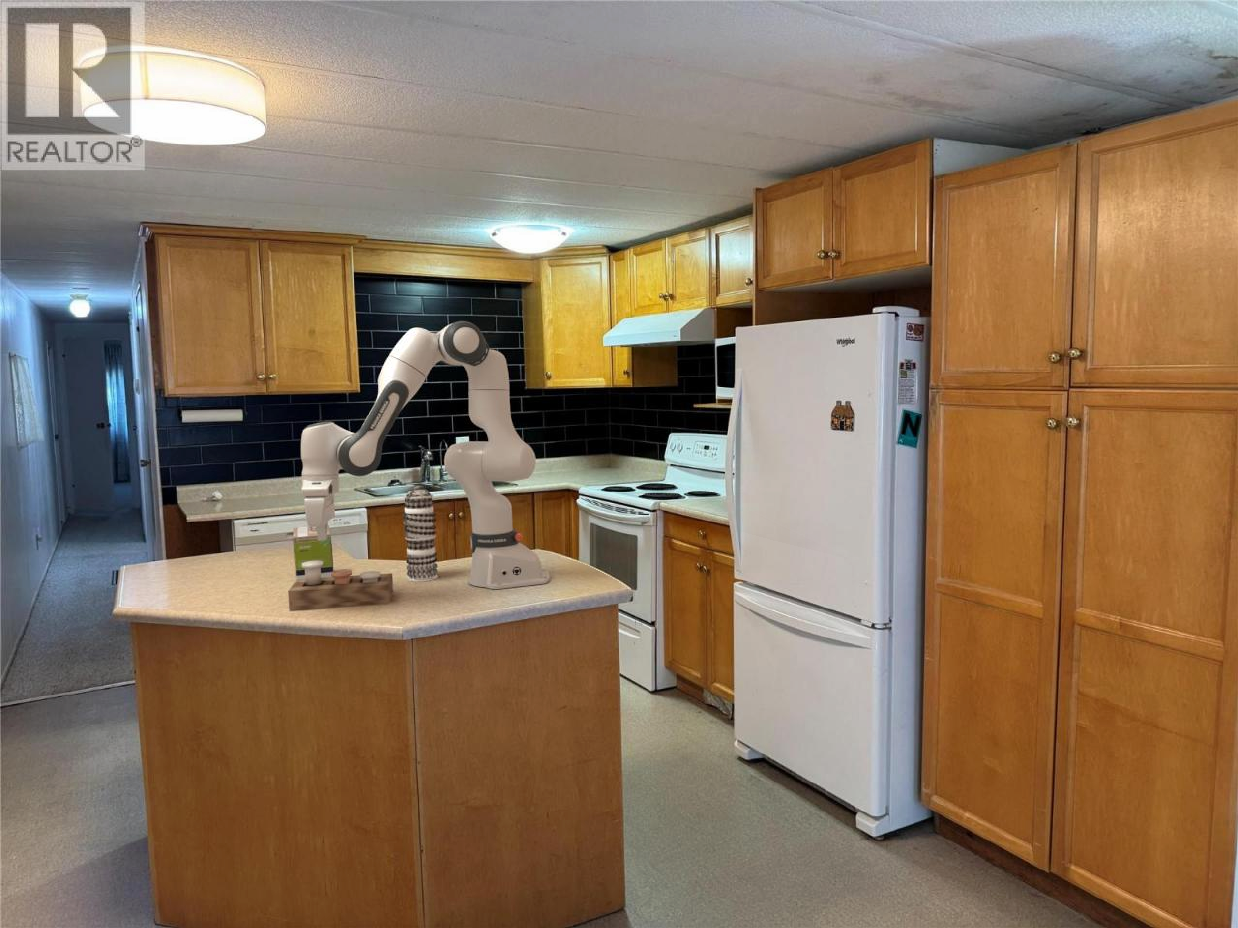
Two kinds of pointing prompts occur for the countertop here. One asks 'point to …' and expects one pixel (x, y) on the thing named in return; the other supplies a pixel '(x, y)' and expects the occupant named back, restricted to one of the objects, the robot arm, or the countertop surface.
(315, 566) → the grey plug
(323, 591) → the socket board
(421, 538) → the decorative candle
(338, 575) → the terracotta plug
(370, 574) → the grey plug
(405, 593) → the countertop surface
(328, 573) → the tea box
